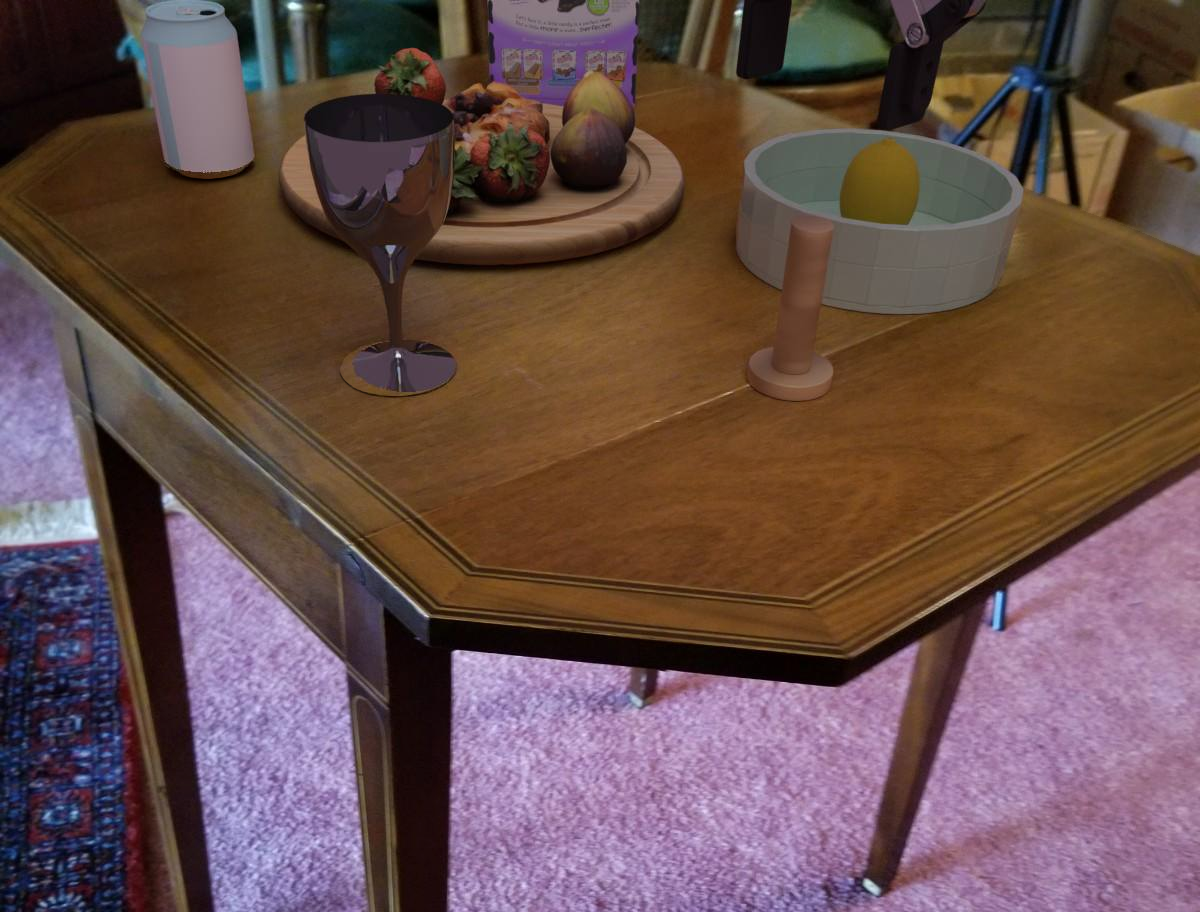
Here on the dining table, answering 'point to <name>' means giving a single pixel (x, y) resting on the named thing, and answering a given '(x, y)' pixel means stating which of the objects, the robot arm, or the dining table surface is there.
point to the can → (197, 86)
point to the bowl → (882, 251)
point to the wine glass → (386, 209)
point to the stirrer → (798, 319)
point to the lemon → (881, 185)
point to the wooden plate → (526, 171)
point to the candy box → (562, 45)
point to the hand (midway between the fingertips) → (826, 98)
